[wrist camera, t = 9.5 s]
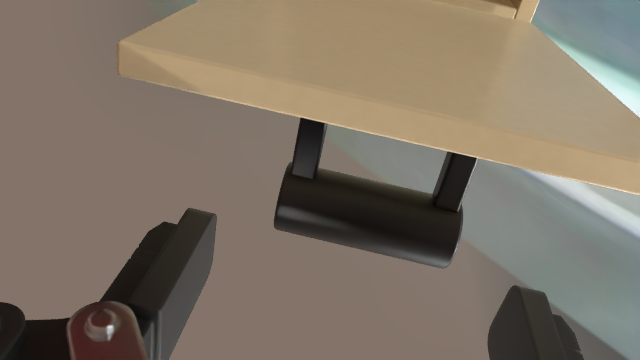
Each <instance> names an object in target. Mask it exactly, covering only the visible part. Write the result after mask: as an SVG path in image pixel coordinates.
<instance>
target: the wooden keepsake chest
mask: <svg viewBox="0 0 640 360" xmlns="http://www.w3.org/2000/svg"><path fill="white" fill-rule="evenodd" d="M430 1H435V2H439V3H444V4H448V5H453V6H457V7H462V8H466V9H471V10H475V11H480V12H484V13H489V14H493V15H497V16H502V17H506V18H511V19H515V20H520V21H524V22H529V23H531V20H532V18H533V15H534V13H535V10H536V8H537V5H538V3H539V0H430Z"/></svg>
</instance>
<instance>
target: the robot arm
mask: <svg viewBox="0 0 640 360" xmlns="http://www.w3.org/2000/svg"><path fill="white" fill-rule="evenodd" d="M216 221H217V216H216V214H214V213H209V212H205V211H201V210H197V209H193V208H188V209H187V210H186V211H185V213H184V215H183V216H182V218H181V219H180V221H179V223H178V224H172V223H168V222H163V223H161V224H160V225H158V226H157V227H155V228H153V229H152V230H150V231H149V232H148V233H147V235H146V236H145V237H144V239H143V240H142V242H141V243H140V244H139V247H138V248H137V249H136V250H135V252H134V253H133V254H132V256H131V259H129V260H128V262H127V263H126V264H125V266H124V267H123V269H122V270H121V271H120V273H119V274H118V276H117V277H116V279H115V280H114V281H113V283H112V284H111V286H110V287H109V289H108V290H107V291H106V293H105V294H104V296H103V297H102V298H101V300H100V301H99V302H95V303H91V304H89V305H86V306H84V307H82V308H81V309H79V310H78V311H77V312H75V313H74V314H73V315H72V317H70V318H65V319H52V320H25V316H24V314H23V312H22V311H21V310H20V309H19V308H18V307H17V306H14V305H12V304H9V303H2V302H0V360H169V358H170V355H171V353H172V351H173V349H174V347H175V345H176V343H177V341H178V339H179V337H180V335H181V333H182V331H183V328H184V326H185V324H186V322H187V320H188V318H189V316H190V314H191V312H192V310H193V308H194V306H195V303H196V301H197V299H198V297H199V295H200V293H201V291H202V289H203V287H204V284H205V283H206V280H207V278H208V275H209V273H210V269H211V265H212V261H213V253H214V243H215V231H216ZM488 351H489V357H490V360H584V359H583V356H582V354H580V351H581V350H580V348H579V345H578V342H577V339H576V337H575V334H574V332H573V331H572V330H571V328H570V327H569V326H568V325H567V323H566V322H565V321H564V320H563V318H562V317H561V316H558V315H554V314H552V312H551V309H550V306H549V303H548V300H547V297H546V295H545V293H544V292H542V291H537V290H533V289H529V288H524V287H520V286H516V285H515V286H512V287H511V288H510V290H509V292H508V293H507V295H506V297H505V299H504V301H503V303H502V305H501V307H500V308H499V311H498V312H497V315H496V316H495V318H494V320H493V322H492V324H491V326H490V329H489V334H488Z"/></svg>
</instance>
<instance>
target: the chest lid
mask: <svg viewBox="0 0 640 360" xmlns="http://www.w3.org/2000/svg"><path fill="white" fill-rule="evenodd" d="M117 58H118V59H117V61H118V62H117V66H118V67H117V72H118V75H120V76H123V77H128V78H132V79H137V80H141V81H145V82H149V83H154V84H158V85H162V86H167V87H171V88H176V89H180V90H184V91H189V92H193V93H197V94H202V95H206V96H210V97H215V98H219V99H223V100H228V101H232V102H236V103H241V104H245V105H249V106H254V107H258V108H262V109H267V110H272V111H275V112H280V113H284V114H289V115H293V116H297V117H301V118H300V123H299V129H298V134H297V139H296V145H295V151H294V156H293V161H292V162H290V163H289V165H288V166H287V168H286V171H285V174H284V177H283V181H282V185H281V188H280V192H279V196H278V201H277V206H276V211H275V217H274V228H275V229H277V230H280V231H285V232H289V233H293V234H297V235H301V236H306V237H310V238H314V239H318V240H323V241H327V242H331V243H336V244H340V245H344V246H348V247H353V248H357V249H361V250H366V251H369V252H374V253H378V254H383V255H386V256H391V257H395V258H399V259H404V260H408V261H413V262H416V263H421V264H425V265H429V266H433V267H437V268H442V269H443V268H447V267H448V266H449V265H450V263H451V261H452V260H453V258H454V255H455V253H456V251H457V248H458V244H459V241H460V236H461V231H462V225H463V208H462V204H461V203H462V201H463V198H464V196H465V193H466V190H467V188H468V185H469V183H470V180H471V178H472V175H473V172H474V170H475V167H476V165H477V162H478V159H479V158H480V159H484V160H488V161H493V162H497V163H501V164H506V165H510V166H515V167H519V168H523V169H528V170H532V171H536V172H541V173H545V174H549V175H554V176H558V177H562V178H567V179H571V180H575V181H580V182H584V183H588V184H593V185H597V186H601V187H606V188H610V189H615V190H619V191H623V192H628V193H632V194H636V195H640V118H639V117H638V116H637V115H636V114H635V113H633V112H632V111H631V110H630V109H629V108H628V107H627V106H625V105H624V104H623V103H622V102H621V101H620V100H619V99H618V98H616V97H615V96H614V95H613V94H612V93H611V92H610V91H608V90H607V89H606V88H605V87H604V86H603V85H602V84H601V83H599V82H598V81H597V80H596V79H595V78H594V77H593V76H591V75H590V74H589V73H588V72H587V71H586V70H585V69H583V68H582V67H581V66H580V65H579V64H578V63H577V62H576V61H574V60H573V59H572V58H571V57H570V56H569V55H568V54H566V53H565V52H564V51H563V50H562V49H561V48H560V47H559V46H557V45H556V44H555V43H554V42H553V41H552V40H551V39H549V38H548V37H547V36H546V35H545V34H544V33H543V32H542V31H540V30H539V29H538V28H537V27H536V26H535V25H534V24H532V23H529V22H524V21H520V20H515V19H511V18H506V17H502V16H497V15H493V14H489V13H484V12H480V11H475V10H471V9H466V8H462V7H457V6H453V5H448V4H444V3H439V2H435V1H430V0H200V1H198V2H196V3H194V4H192V5H190V6H188V7H186V8H184V9H182V10H180V11H178V12H176V13H174V14H172V15H170V16H168V17H166V18H164V19H162V20H160V21H158V22H156V23H154V24H152V25H150V26H148V27H146V28H144V29H142V30H140V31H138V32H136V33H134V34H132V35H130V36H128V37H126V38H124V39H122V40H119V42H118V44H117ZM327 124H332V125H336V126H341V127H345V128H349V129H354V130H358V131H362V132H367V133H371V134H375V135H380V136H384V137H388V138H393V139H397V140H402V141H406V142H410V143H415V144H419V145H423V146H428V147H432V148H436V149H441V150H445V151H448V152H447V155H446V158H445V160H444V163H443V166H442V169H441V172H440V175H439V178H438V180H437V183H436V186H435V189H434V192H433V194H430V193H425V192H421V191H417V190H412V189H408V188H404V187H399V186H395V185H391V184H386V183H382V182H378V181H374V180H369V179H365V178H361V177H356V176H352V175H348V174H343V173H339V172H334V171H330V170H326V169H322V168H318V166H319V161H320V157H321V152H322V148H323V143H324V138H325V134H326V129H327Z"/></svg>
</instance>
